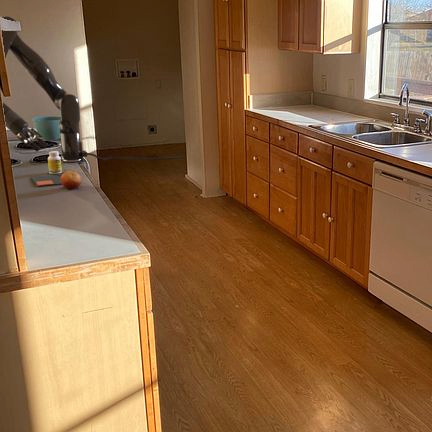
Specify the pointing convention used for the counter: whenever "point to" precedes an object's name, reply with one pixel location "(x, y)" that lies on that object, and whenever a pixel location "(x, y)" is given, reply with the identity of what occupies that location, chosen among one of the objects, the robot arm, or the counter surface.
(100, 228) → the counter surface
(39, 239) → the counter surface
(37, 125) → the plant pot
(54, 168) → the supplement bottle
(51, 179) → the corner mat
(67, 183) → the fruit
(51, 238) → the counter surface
